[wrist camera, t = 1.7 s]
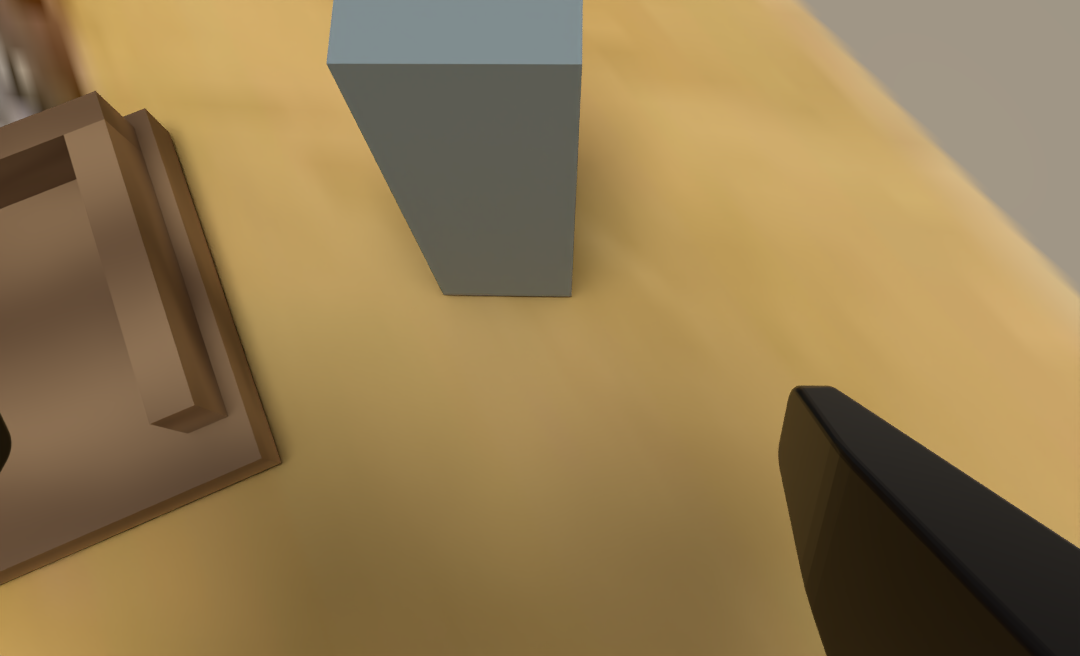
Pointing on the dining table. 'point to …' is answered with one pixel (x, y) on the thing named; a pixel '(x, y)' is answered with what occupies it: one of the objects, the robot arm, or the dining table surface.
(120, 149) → the stand
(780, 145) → the dining table surface
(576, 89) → the grey rectangular block
